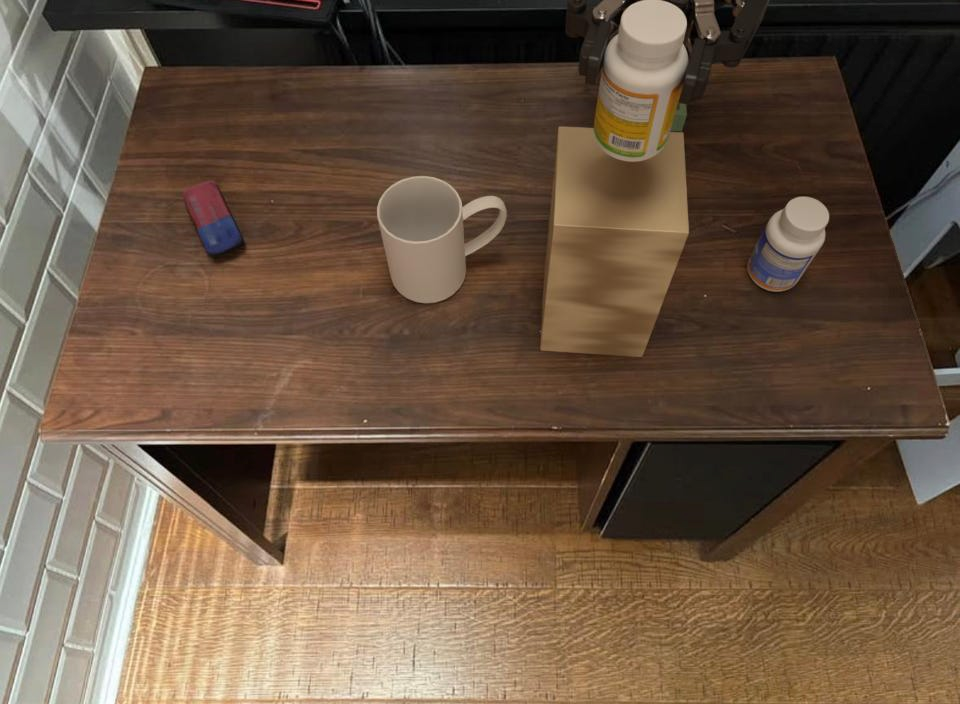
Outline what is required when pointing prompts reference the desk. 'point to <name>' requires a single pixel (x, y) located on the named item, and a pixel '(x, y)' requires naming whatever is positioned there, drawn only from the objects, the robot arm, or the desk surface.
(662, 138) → the supplement bottle
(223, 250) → the eraser
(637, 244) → the block
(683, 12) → the robot arm
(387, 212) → the mug
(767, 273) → the pill bottle
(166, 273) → the desk surface
